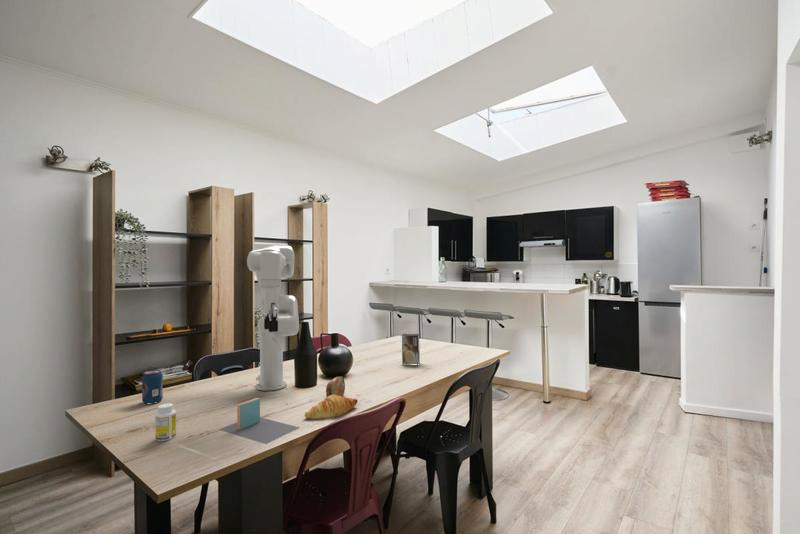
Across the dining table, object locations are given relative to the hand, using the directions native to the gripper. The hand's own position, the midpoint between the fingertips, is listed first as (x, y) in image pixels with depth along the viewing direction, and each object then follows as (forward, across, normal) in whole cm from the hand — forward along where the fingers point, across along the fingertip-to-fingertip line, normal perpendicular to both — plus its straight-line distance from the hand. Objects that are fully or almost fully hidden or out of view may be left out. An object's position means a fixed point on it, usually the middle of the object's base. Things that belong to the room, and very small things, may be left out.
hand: (270, 330), depth 151 cm
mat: (+30, +17, -7) cm, 35 cm away
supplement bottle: (+30, +10, -34) cm, 46 cm away
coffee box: (+28, -36, +79) cm, 91 cm away
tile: (+30, +13, -10) cm, 34 cm away
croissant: (+30, +14, +18) cm, 38 cm away
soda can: (+29, -32, -40) cm, 59 cm away
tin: (+30, +1, +24) cm, 38 cm away
